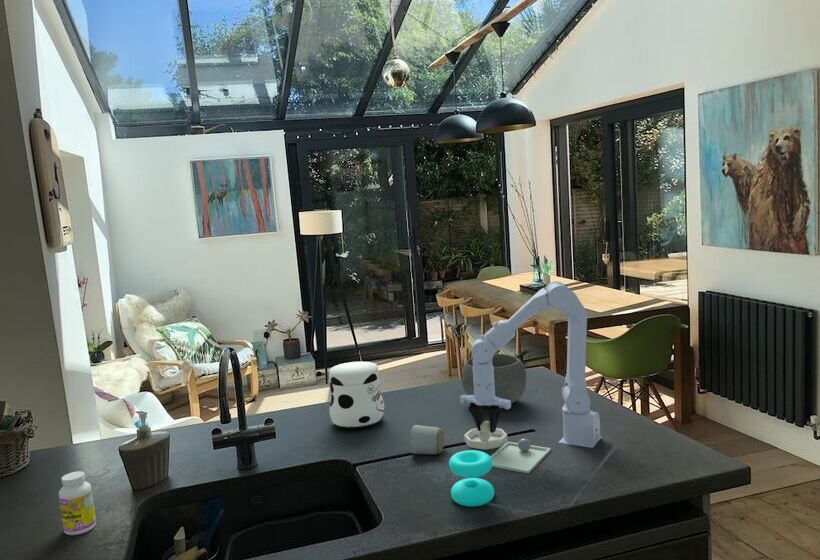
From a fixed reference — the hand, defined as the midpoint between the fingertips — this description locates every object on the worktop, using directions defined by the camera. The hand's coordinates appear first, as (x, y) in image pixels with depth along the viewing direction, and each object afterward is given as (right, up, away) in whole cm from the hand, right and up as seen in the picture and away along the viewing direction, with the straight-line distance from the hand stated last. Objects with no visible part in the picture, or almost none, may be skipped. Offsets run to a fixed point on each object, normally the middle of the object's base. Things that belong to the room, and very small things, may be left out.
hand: (486, 430), depth 177 cm
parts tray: (+7, -5, -11) cm, 14 cm away
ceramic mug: (-16, -6, 0) cm, 17 cm away
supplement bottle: (-97, -16, -30) cm, 102 cm away
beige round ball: (0, -1, 0) cm, 1 cm away
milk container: (-38, -4, +26) cm, 46 cm away
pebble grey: (0, -3, +2) cm, 4 cm away
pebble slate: (+9, -4, -7) cm, 12 cm away
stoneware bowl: (0, -4, +2) cm, 4 cm away
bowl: (+7, 0, +33) cm, 34 cm away
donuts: (-7, -9, -30) cm, 32 cm away
